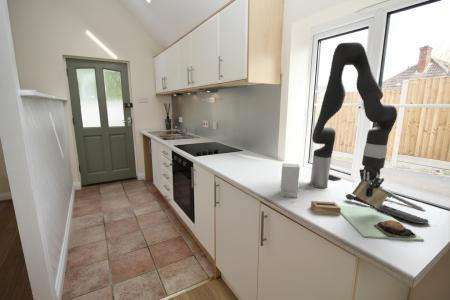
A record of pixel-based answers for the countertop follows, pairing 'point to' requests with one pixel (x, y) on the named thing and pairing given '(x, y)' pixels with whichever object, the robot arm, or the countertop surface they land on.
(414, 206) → the caliper
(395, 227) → the bread roll
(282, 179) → the skincare box
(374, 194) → the board
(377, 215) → the mat
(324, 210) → the stand
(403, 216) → the knife
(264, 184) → the countertop surface
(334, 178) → the phone
